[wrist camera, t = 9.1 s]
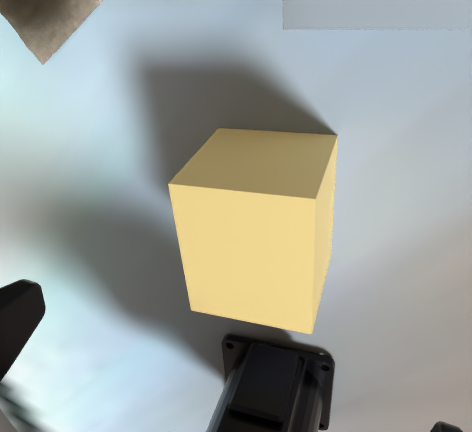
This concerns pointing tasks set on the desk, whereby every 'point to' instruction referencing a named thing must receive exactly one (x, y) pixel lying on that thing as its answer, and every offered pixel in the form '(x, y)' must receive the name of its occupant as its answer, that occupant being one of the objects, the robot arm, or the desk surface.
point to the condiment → (46, 22)
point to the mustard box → (257, 225)
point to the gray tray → (378, 14)
